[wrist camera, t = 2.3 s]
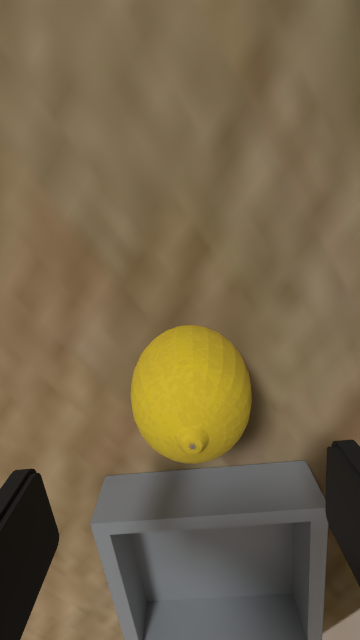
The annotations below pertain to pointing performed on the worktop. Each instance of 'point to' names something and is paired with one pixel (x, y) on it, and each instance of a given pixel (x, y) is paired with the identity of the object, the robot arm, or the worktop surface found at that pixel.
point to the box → (215, 552)
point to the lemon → (191, 394)
